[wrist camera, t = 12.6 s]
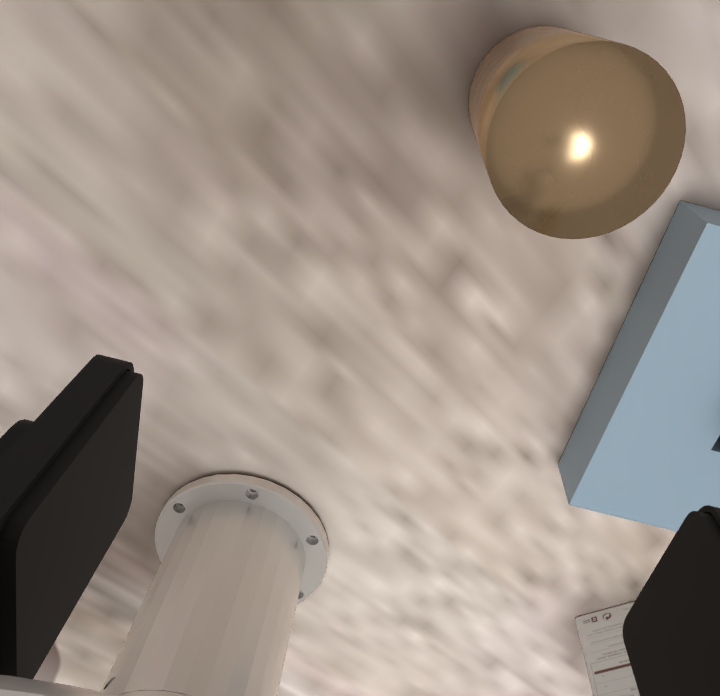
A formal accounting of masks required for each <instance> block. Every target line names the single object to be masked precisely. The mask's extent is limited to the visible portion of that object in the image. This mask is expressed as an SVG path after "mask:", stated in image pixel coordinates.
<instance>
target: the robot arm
mask: <svg viewBox="0 0 720 696" xmlns="http://www.w3.org/2000/svg"><path fill="white" fill-rule="evenodd" d="M142 389H143V376H142V374H139V373H135V372H134V367H133V364H132V363H131V362H127V361H123V360H119V359H115V358H111V357H107V356H103V355H96V356H94V357H93V358H92V359H91V360H90V361H89V362H88V364H87V365H86V366H85V367H84V368H83V369H82V370H81V371H80V372H79V373H78V374H77V376H76V377H75V378H74V379H73V380H72V381H71V382H70V383H69V384H68V385H67V386H66V387H65V389H64V390H63V391H62V392H61V393H60V394H59V395H58V396H57V397H56V398H55V399H54V401H53V402H52V403H51V404H50V405H49V406H48V407H47V408H46V409H45V410H44V411H43V412H42V414H41V415H40V416H39V417H38V418H37V419H36V420H35V421H34V422H33V421H29V420H25V419H24V420H20V421H18V422H17V423H15V424H14V425H13V426H12V427H11V428H10V429H9V430H8V431H7V432H6V433H5V434H4V435H3V436H2V437H1V438H0V696H277V693H278V688H279V684H280V679H281V674H282V670H283V665H284V661H285V656H286V651H287V647H288V642H289V637H290V633H291V628H292V624H293V619H294V614H295V610H296V605H297V604H299V603H301V602H303V601H304V600H305V599H307V598H308V597H309V596H310V595H312V594H313V593H314V591H315V590H316V589H317V588H318V586H319V585H320V584H321V582H322V579H323V577H324V575H325V573H326V568H327V563H328V556H329V544H328V540H327V536H326V532H325V530H324V528H323V526H322V524H321V521H320V520H319V518H318V517H317V516H316V514H315V513H314V512H313V510H312V509H311V508H310V507H309V506H308V505H307V504H306V503H305V502H304V501H303V500H301V499H300V498H299V497H298V496H296V495H295V494H293V493H292V492H290V491H289V490H287V489H286V488H284V487H281V486H279V485H277V484H275V483H273V482H270V481H268V480H264V479H260V478H257V477H253V476H247V475H239V474H219V475H213V476H208V477H203V478H200V479H198V480H195V481H193V482H190V483H188V484H187V485H185V486H184V487H182V488H180V489H179V490H177V491H176V492H175V493H174V494H173V495H172V496H171V498H170V499H169V500H168V501H167V503H166V504H165V506H164V508H163V510H162V511H161V513H160V515H159V518H158V520H157V523H156V526H155V535H154V539H155V547H156V551H157V554H158V557H159V560H160V562H161V565H160V567H159V569H158V571H157V573H156V575H155V578H154V580H153V582H152V584H151V586H150V588H149V590H148V592H147V595H146V597H145V599H144V601H143V603H142V605H141V607H140V609H139V612H138V614H137V616H136V618H135V620H134V622H133V624H132V627H131V629H130V631H129V633H128V635H127V637H126V639H125V641H124V644H123V646H122V648H121V650H120V652H119V654H118V656H117V658H116V661H115V663H114V665H113V667H112V669H111V671H110V673H109V676H108V678H107V680H106V682H105V684H104V686H103V688H102V690H101V692H98V691H94V690H89V689H84V688H79V687H74V686H70V685H64V684H58V683H52V682H46V681H40V680H33V678H34V676H35V675H36V673H37V671H38V669H39V668H40V666H41V664H42V663H43V661H44V659H45V657H46V655H47V654H48V652H49V650H50V649H51V647H52V645H53V643H54V642H55V640H56V638H57V637H58V635H59V633H60V631H61V630H62V628H63V626H64V624H65V623H66V621H67V619H68V618H69V616H70V614H71V612H72V611H73V609H74V607H75V605H76V604H77V602H78V600H79V598H80V597H81V595H82V593H83V592H84V590H85V588H86V586H87V585H88V583H89V581H90V579H91V578H92V576H93V574H94V572H95V571H96V569H97V567H98V566H99V564H100V562H101V560H102V559H103V557H104V555H105V553H106V552H107V550H108V548H109V546H110V545H111V543H112V541H113V540H114V538H115V536H116V534H117V533H118V531H119V529H120V527H121V526H122V524H123V522H124V520H125V518H126V516H127V514H128V511H129V508H130V505H131V500H132V492H133V482H134V471H135V461H136V451H137V440H138V430H139V420H140V409H141V399H142ZM623 640H624V644H625V647H626V651H627V654H628V657H629V661H630V664H631V667H632V671H633V674H634V677H635V681H636V684H637V688H638V691H639V694H640V696H720V508H718V507H714V506H710V505H707V506H703V507H702V508H700V509H699V510H698V511H692V512H690V513H689V514H688V515H687V516H686V518H685V519H684V521H683V523H682V524H681V526H680V528H679V529H678V531H677V533H676V534H675V536H674V538H673V539H672V541H671V543H670V544H669V546H668V548H667V549H666V551H665V553H664V554H663V556H662V558H661V559H660V561H659V563H658V564H657V566H656V568H655V569H654V571H653V573H652V574H651V576H650V578H649V579H648V581H647V583H646V584H645V586H644V587H643V589H642V591H641V592H640V594H639V596H638V597H637V599H636V601H635V602H634V604H633V606H632V607H631V609H630V611H629V612H628V614H627V616H626V618H625V620H624V624H623Z"/></svg>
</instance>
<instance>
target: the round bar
mask: <svg viewBox="0 0 720 696" xmlns="http://www.w3.org/2000/svg"><path fill="white" fill-rule="evenodd" d="M469 115H470V120H471V124H472V127H473V130H474V133H475V136H476V139H477V142H478V145H479V148H480V151H481V154H482V157H483V160H484V163H485V166H486V169H487V172H488V175H489V178H490V181H491V184H492V186H493V188H494V191H495V193H496V195H497V197H498V198H499V200H500V201H501V203H502V204H503V206H504V207H505V208H506V209H507V210H508V212H509V213H510V214H511V215H512V216H513V217H515V218H516V219H517V220H518V221H519V222H521V223H522V224H524V225H525V226H527V227H528V228H530V229H532V230H534V231H537V232H539V233H542V234H545V235H548V236H551V237H557V238H564V239H582V238H590V237H595V236H600V235H603V234H606V233H609V232H612V231H614V230H616V229H619V228H621V227H623V226H625V225H626V224H628V223H630V222H631V221H633V220H635V219H636V218H637V217H639V216H640V215H641V214H643V213H644V212H645V211H646V210H647V209H648V208H649V207H650V206H652V205H653V204H654V203H655V201H656V200H657V199H658V198H659V197H660V196H661V194H662V193H663V192H664V190H665V189H666V187H667V186H668V184H669V183H670V181H671V179H672V177H673V176H674V174H675V172H676V170H677V167H678V164H679V162H680V159H681V156H682V152H683V148H684V142H685V133H686V123H685V113H684V107H683V103H682V100H681V97H680V94H679V91H678V89H677V87H676V85H675V83H674V81H673V80H672V79H671V77H670V76H669V74H668V73H667V72H666V70H665V69H664V68H663V67H662V66H661V65H660V64H659V63H658V62H657V61H655V60H654V59H653V58H651V57H650V56H649V55H647V54H646V53H644V52H642V51H640V50H638V49H636V48H634V47H631V46H628V45H625V44H622V43H618V42H614V41H610V40H606V39H602V38H598V37H595V36H591V35H587V34H583V33H579V32H575V31H571V30H567V29H563V28H559V27H554V26H535V27H530V28H526V29H522V30H520V31H517V32H515V33H513V34H511V35H509V36H507V37H506V38H504V39H503V40H501V41H500V42H499V43H497V44H496V45H495V46H494V47H493V48H492V49H491V50H490V51H489V52H488V54H487V55H486V56H485V57H484V59H483V60H482V62H481V63H480V65H479V67H478V69H477V71H476V73H475V75H474V78H473V80H472V83H471V88H470V92H469Z"/></svg>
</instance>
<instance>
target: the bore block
mask: <svg viewBox="0 0 720 696" xmlns="http://www.w3.org/2000/svg"><path fill="white" fill-rule="evenodd" d="M558 467H559V470H560V474H561V478H562V481H563V485H564V489H565V492H566V496H567V500H568V503H569V505H571V506H575V507H580V508H584V509H588V510H592V511H596V512H600V513H604V514H608V515H612V516H616V517H620V518H624V519H628V520H632V521H637V522H641V523H645V524H649V525H653V526H657V527H661V528H665V529H669V530H673V531H678V529H679V528H680V526H681V524H682V523H683V521H684V519H685V518H686V516H687V515H688V514H689V513H690V512H692V511H698V510H699V509H700V508H702V507H703V506H707V505H710V506H714V507H718V508H720V211H719V210H715V209H711V208H707V207H703V206H699V205H696V204H692V203H688V202H684V201H680V202H679V205H678V207H677V209H676V211H675V213H674V215H673V217H672V220H671V222H670V224H669V226H668V228H667V230H666V233H665V235H664V237H663V239H662V241H661V243H660V245H659V248H658V250H657V252H656V254H655V256H654V258H653V261H652V263H651V265H650V267H649V269H648V271H647V274H646V276H645V278H644V280H643V282H642V284H641V286H640V289H639V291H638V293H637V295H636V297H635V299H634V302H633V304H632V306H631V308H630V310H629V312H628V314H627V317H626V319H625V321H624V323H623V325H622V327H621V330H620V332H619V334H618V336H617V338H616V340H615V342H614V345H613V347H612V349H611V351H610V353H609V355H608V358H607V360H606V362H605V364H604V366H603V368H602V370H601V373H600V375H599V377H598V379H597V381H596V383H595V386H594V388H593V390H592V392H591V394H590V396H589V399H588V401H587V403H586V405H585V407H584V409H583V411H582V414H581V416H580V418H579V420H578V422H577V424H576V427H575V429H574V431H573V433H572V435H571V437H570V439H569V442H568V444H567V446H566V448H565V450H564V452H563V455H562V457H561V459H560V461H559V463H558Z"/></svg>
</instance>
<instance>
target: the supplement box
mask: <svg viewBox="0 0 720 696" xmlns="http://www.w3.org/2000/svg"><path fill="white" fill-rule="evenodd" d="M634 602H635V601H634ZM634 602H631V603H627V604H623V605H619V606H615V607H612V608H608V609H604V610H600V611H597V612H593V613H590V614H586V615H583V616H579V617H577V618H576V619H575V621H576V625H577V630H578V634H579V638H580V642H581V646H582V650H583V654H584V658H585V663H586V667H587V671H588V676H589V680H590V684H591V689H592V693H593V696H640V694H639V691H638V688H637V684H636V681H635V677H634V674H633V671H632V667H631V664H630V661H629V657H628V654H627V651H626V647H625V644H624V640H623V624H624V620H625V618H626V616H627V614H628V612H629V611H630V609H631V607H632V606H633V604H634Z"/></svg>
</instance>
